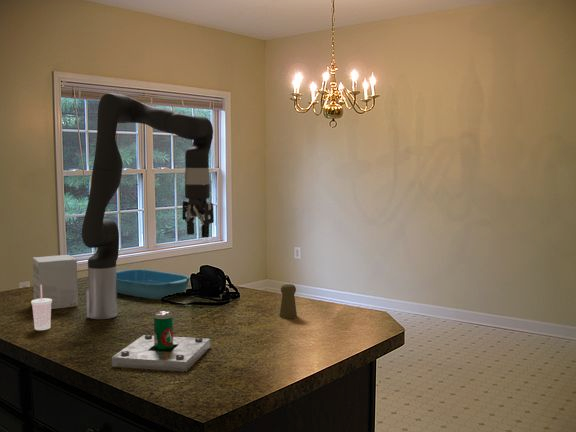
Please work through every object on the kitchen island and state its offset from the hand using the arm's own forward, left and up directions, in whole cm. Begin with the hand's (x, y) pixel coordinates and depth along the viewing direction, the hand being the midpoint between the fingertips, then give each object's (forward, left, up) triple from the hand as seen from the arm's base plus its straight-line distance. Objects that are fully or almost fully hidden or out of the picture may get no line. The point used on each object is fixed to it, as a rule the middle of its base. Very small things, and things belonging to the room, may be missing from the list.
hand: (197, 235), depth 181 cm
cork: (+24, +24, -30) cm, 45 cm away
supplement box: (-63, +24, -30) cm, 74 cm away
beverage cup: (-50, -5, -30) cm, 59 cm away
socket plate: (-2, -24, -30) cm, 39 cm away
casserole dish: (-39, +50, -31) cm, 70 cm away
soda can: (-2, -24, -30) cm, 39 cm away
